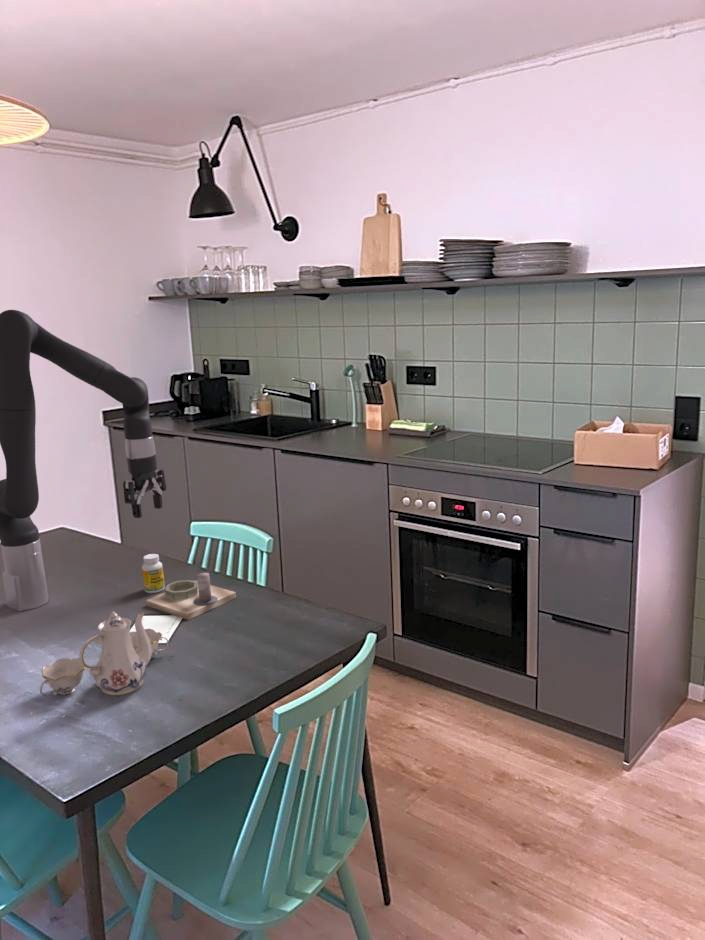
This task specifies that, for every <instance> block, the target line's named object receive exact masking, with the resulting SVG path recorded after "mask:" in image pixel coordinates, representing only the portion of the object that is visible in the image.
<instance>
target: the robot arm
mask: <svg viewBox="0 0 705 940" xmlns="http://www.w3.org/2000/svg"><path fill="white" fill-rule="evenodd" d="M31 354H34V355H37V356H38V357H41V358H43V359H45V360H47V361H49V362H51V363H52V364H54V365H56V366H58V367H59V368H60V369H63V371H65V372H67V374H70V375H71V376H72V377H75V378H77V379H78V380H80V381H82V382H84V383H86V384H88V385H89V386H91V387H94V388H96V389H98V390H100V391H102V392H104V393H105V394H107V395H108V396H110V397H111V398H113V399H114V400H116V401H117V402H118V403H121V404H122V410H123V432H124V439H125V443H124V448H125V456H126V457H125V458H126V465H127V471H128V473H129V474H130V475H131V480H124V481H123V484H122V485H123V497H124V498H123V499H124V503H125V505H126V504H128V505H130V506H131V509H132V516H133V517H134V518H135V519H140V518H142V517H143V514H142V506H141V500H142V498H143V497H144V496H145V493H147V492H149V491H150V492H151V493H152V494H153V495H152V500H153V507H154V508H155V509H157V510H158V509H163V496H162V495H163V492H165V491H166V490H167V484H166V479H165V471H164V469H158V461H157V453H156V445H155V441H154V436H153V427H152V422H151V417H150V402H149V400H150V398H149V390H148V385H147V383H146V382H145V381H144V380H143V379H141V378H139V377H134V376H133V377H131V376H128V375H127V374H125V373H122V372H121V371H119V370H117V369H116V368H115V367H114V366H113V365H112V364H110V363H108V362H106V361H105V360H103V359H101V358H99V357H97V356H95V355H93V354H91V353H90V352H88V351H85V350H83V349H81V348H80V347H76V346H75V345H74V344H70V343H69V342H66V341H64V340H63V339H61V338H59V337H58V336H56V335H54V334H53V333H51V332H50V331H48V330H47V329H45V328H44V327H43V326H42V325H40V324H39V323H37V322H36V320H34V319H33V318H32V317H31V316H30V315H29V314H27V313H25V312H22V311H20V310H17V309H7V310H4V311H2V312H0V447H1V451H2V453H3V456H4V460H5V469H6V470H5V471H6V472H5V478H4V479H1V480H0V547H1V548H0V549H1V553H2V558H3V559H2V560H3V566H4V571H2V573H1V575H2V581H3V587H4V593H5V600H6V607H7V606H8V607H7V608H10V609H12V610H15V611H17V612H22V611H26V610H32V609H36V608H38V607H42V606H44V605H45V604H47V603H48V601H49V594H48V593H49V592H48V587H47V580H46V574H45V573H46V572H45V565H44V560H43V559H44V558H43V553H42V545H41V539H40V531H39V528H38V527H37V525H36V524H35V523H34V521H33V520H32V518H31V516H32V515H33V513H35V511H36V510H37V508H38V504H39V500H40V499H39V497H40V494H39V485H38V476H37V475H38V474H37V465H36V423H37V420H36V418H37V417H36V415H37V413H36V410H37V408H36V399H35V398H36V397H35V392H34V386H33V382H32V377H31V367H30V360H31Z"/></svg>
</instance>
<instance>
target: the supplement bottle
mask: <svg viewBox="0 0 705 940" xmlns="http://www.w3.org/2000/svg"><path fill="white" fill-rule="evenodd" d="M141 570H142V577H143V586H144V592H145V593H147V594H157V593H160V592H163V591H165V588H166V585H165V584H166V583H165V576H164V568H163V563H162V562H161V561H160V556H159V554H157V553H149V554H146V555H144V556H143V564H142V566H141Z"/></svg>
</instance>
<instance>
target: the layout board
mask: <svg viewBox="0 0 705 940" xmlns="http://www.w3.org/2000/svg"><path fill="white" fill-rule="evenodd" d="M196 578H197V579H196V580H195V579H194V580H190V579H185V580H176V581H174V582H171V583H168V584H166V585H165V588H164V592H163V593H159V594H158V595H155V596H153V597H151V598H148V599H146V606H148V607H149V608H153V609H155V610H159V611H161V612H164V613H166V614H170V615H173V616H176V617H178V618H181V619H184V620H186V621H189V620H191V619H193V618H195V617H198V616H201V615H202V614H204V613H206V612H209V611H211V610H213V609H215V608H218V607H219V606H221V605H224V604H226V603H228V602H230V601H232V600H235V599H236V598H237V593H236V591H233V590H229V589H225V588H222V587H220V586H216V585H213V584H211V579H210V578H211V577H210V573H209V572H200V573H198V574H197V575H196Z"/></svg>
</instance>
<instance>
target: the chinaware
mask: <svg viewBox="0 0 705 940" xmlns="http://www.w3.org/2000/svg"><path fill="white" fill-rule="evenodd" d="M144 616H145V612H143V611H142V612H139V613H138V614H137V616H136V618H135V619H134V620H135V621H134V627H135V631H131V624H132V620H131V619H129V618H126V617H122V616H120V615H118V614H117V613H116V612H115V611H112V612H111V613H110V615H109V617H107V619H105V620H104V621H103V622H100V623H99V624H98V625H97V630H99V633H100V634H97V635H94V636H91V637H89V638H88V639H87V640H86V641H85V642H84V643H83V644H82V646H81V648H80V651H79V656H78V657H79V658H76V659H75V658H74V659H71V658H67V657H66V658H62V657H61V658H60V659H57V660H56V661H54V662H53V663H52V664H47V665H45V666H43V667H42V669H41V674H42V676H41V677H42V678H43V679H44V680H43V681H42V682H41V683H40V686H39V692H40V694H41V695H42V696H43V697H44V696H45V697H47V696H50V694H53V695H54V696H56V695H57V694H59V693H61V694H60V695H62V694H63V695H64V696H65V694H67V695H70V694H74V692H75V690H77V687H78V686H79V684H80V683H81V682H82V679H83V677H84V671H85V670H86V669H89V673H90V675H91V676H92V678H93V679H94V681H95V684H96V686H97V687H98V688H99V689H100V692H101V693H103V694H104V693H105V694H104V695H106V694H108V695H107V696H112V695H117V696H124V695H126V694H127V695H128V694H131V693H134V692H135V691H137V690H138V689H140V688H141V687H142V685H143V684H144V679H145V677H147V675H148V673H149V668H148V664H149V662H150V661H151V660H152V659H151V658H152V656H157V655H158V653H157V652H160V651H161V652H162V651H165V650H167V649H168V647H169V644H170V641H169V639H168V638H167V637H165V636H163V634H162V633H161V632H160V631H158V632H156V630H154V629H152V628H144V625H143V622H142V620H143V618H144ZM163 639H165V640H166V642H167V645H166V646H165V647H164V648H161V649H158V647H159V642H160V641H162V640H163ZM93 641H95V644H97V645H100V644H102V645H101V646H102V648H101V654H100V658H99V660H98V662H97V664H95V665H89V664H87V663H86V661H85V658H84V653H85V651H86V649H87V647H88V645H90V643H92V642H93ZM44 684H45V685H49V687H50V688H51V689H52V690H50V691H49V692H48V693H46V694H44V693H43V690H42V689H43V685H44ZM73 691H74V692H73ZM123 694H124V695H123ZM63 695H62V696H63Z"/></svg>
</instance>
